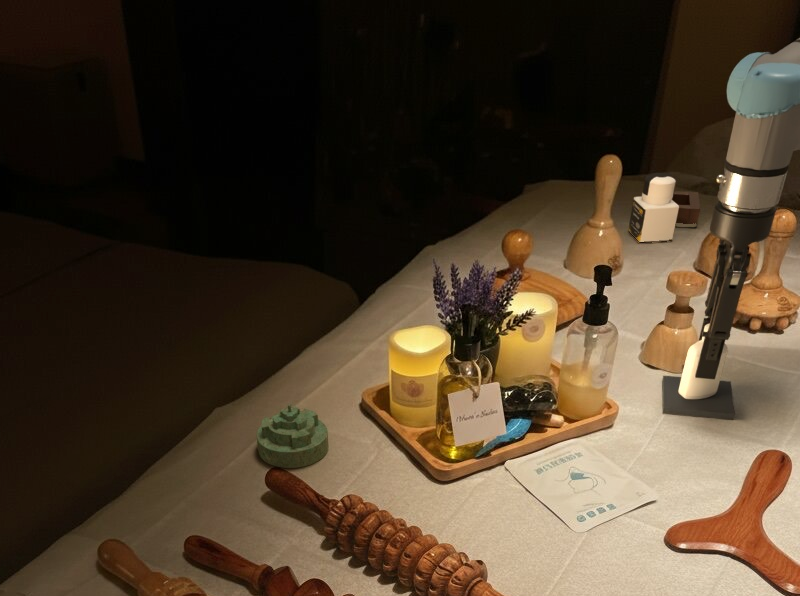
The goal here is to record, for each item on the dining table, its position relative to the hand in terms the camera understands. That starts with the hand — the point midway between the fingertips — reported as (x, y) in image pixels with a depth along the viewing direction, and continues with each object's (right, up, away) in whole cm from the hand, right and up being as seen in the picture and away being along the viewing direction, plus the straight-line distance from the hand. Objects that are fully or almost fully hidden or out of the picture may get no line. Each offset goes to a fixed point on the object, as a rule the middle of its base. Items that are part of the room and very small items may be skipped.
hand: (704, 368), depth 128 cm
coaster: (0, -4, +3) cm, 5 cm away
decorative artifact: (-60, -13, -4) cm, 62 cm away
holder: (+16, +49, +62) cm, 80 cm away
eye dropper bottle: (0, -3, +3) cm, 4 cm away
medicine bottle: (+9, +41, +54) cm, 69 cm away
